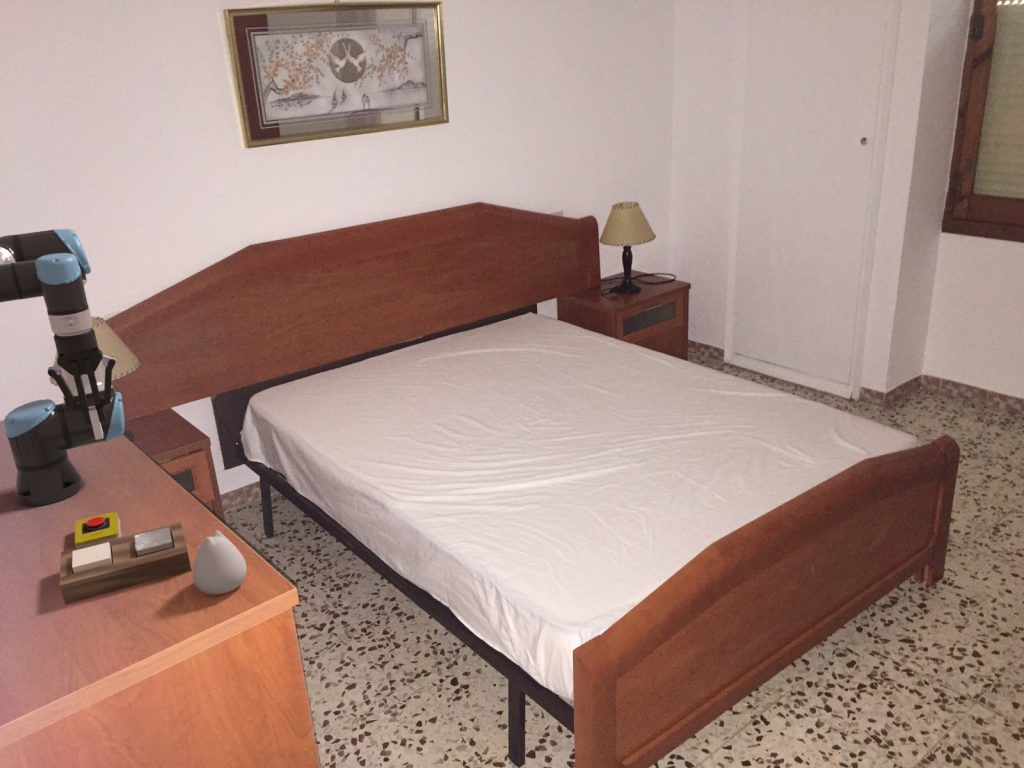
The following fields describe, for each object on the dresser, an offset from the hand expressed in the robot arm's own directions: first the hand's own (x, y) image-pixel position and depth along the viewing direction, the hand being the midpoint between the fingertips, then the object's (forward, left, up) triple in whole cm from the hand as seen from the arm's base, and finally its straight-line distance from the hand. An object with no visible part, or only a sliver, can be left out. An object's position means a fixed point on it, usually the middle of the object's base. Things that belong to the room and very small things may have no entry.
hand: (99, 436), depth 176 cm
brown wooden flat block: (+12, 0, -26) cm, 29 cm away
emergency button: (-6, -5, -27) cm, 28 cm away
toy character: (+28, +17, -27) cm, 42 cm away
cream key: (+12, -6, -24) cm, 28 cm away
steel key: (+12, +6, -24) cm, 27 cm away
